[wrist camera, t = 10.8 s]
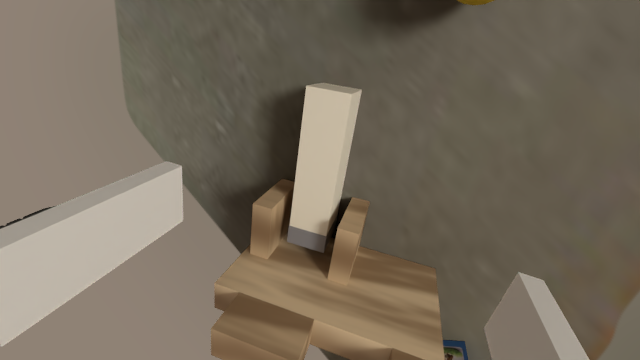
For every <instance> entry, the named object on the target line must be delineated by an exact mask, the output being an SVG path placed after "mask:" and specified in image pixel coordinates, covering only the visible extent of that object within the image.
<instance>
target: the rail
mask: <svg viewBox="0 0 640 360" xmlns="http://www.w3.org/2000/svg"><path fill="white" fill-rule="evenodd" d="M361 91H362V90H361V89H355V88H349V87H344V86H338V85H333V84H327V83H318V84H313V85H307V86H306V92H305V100H304V109H303V117H302V125H301V134H300V142H299V151H298V159H297V167H296V176H295V184H294V193H293V201H292V209H291V218H290V225H289V228H288V237H287V242H289V243H293V244H296V245H299V246H302V247H306V248H309V249H312V250H315V251H318V252H322V253H324V251H325V249H326V247H327V245H328V243H329V241H330V239H331V237H332V234H333V232H334V230H335V228H336V223H337V217H338V210H339V205H340V200H341V195H342V189H343V184H344V179H345V174H346V169H347V163H348V158H349V153H350V148H351V143H352V138H353V132H354V127H355V122H356V117H357V112H358V107H359V101H360V96H361Z"/></svg>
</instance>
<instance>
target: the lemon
mask: <svg viewBox="0 0 640 360" xmlns="http://www.w3.org/2000/svg"><path fill="white" fill-rule="evenodd" d="M457 1H459V2H461V3H463V4H469V5H481V4H486V3H489V2H492V1H494V0H457Z"/></svg>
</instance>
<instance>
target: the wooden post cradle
mask: <svg viewBox="0 0 640 360" xmlns="http://www.w3.org/2000/svg"><path fill="white" fill-rule="evenodd" d="M294 184H295V182H293V181H289V180H286V179H281V180H280V181H279V182H278V183H277V184H275V185H274V186H273V187H272V188H271V189H270V190H268V191H267V192H266V193H265V194H264V195H262V196H261V197H260V198H259V199H258V200H257V201H255V202H254V203H253V211H252V228H251V244H250V245H249V246H248V247H247V248H246V250H245V251H244V252H243V253H242V254H241V255H240V256H239V257H238V258H237V259H236V260H235V262H234V263H233V264H232V265H231V266H230V267H229V268H228V269H227V270H226V271H225V273H223V275H222V276H221V277H220V278H219V279H218V280H217V281H216V282H215V308H218V309H220V310H223V311H224V313H223V314H222V315H221V317H220V318H219V319H218V320H217V322H216V323H215V324H214V326H213V327H212V328H211V355H213V356H215V357H218V358H220V359H222V360H304V358H305V355H306V352H307V349H308V347H309V344H311V345H314V346H316V347H319V348H321V349H324V350H327V351H329V352H332V353H334V354H337V355H340V356H342V357H345V358H347V359H350V360H445V358H444V349H443V339H442V329H441V319H440V310H439V300H438V290H437V281H436V271H435V268H431V267H428V266H425V265H421V264H418V263H415V262H411V261H408V260H404V259H401V258H398V257H394V256H391V255H388V254H384V253H381V252H378V251H374V250H371V249H368V248H364V247H361V246H359V245H360V240H361V236H362V232H363V228H364V224H365V220H366V216H367V211H368V207H369V203H370V202H369V201H365V200H362V199H358V198H354V197H352V199H351V201H350V203H349V205H348V207H347V209H346V211H345V213H344V215H343V218H342V220H341V222H340V224H339V226H338V228H337V233H336V238H335V239H334V238H331V239H330V241H329V243H328V245H327V247H326V249H325V251H324V253H322V252H318V251H315V250H312V249H309V248H306V247H302V246H299V245H296V244H293V243H289V242H287V237H288V228H289V225H290V218H291V209H292V201H293V193H294Z"/></svg>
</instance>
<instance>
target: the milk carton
mask: <svg viewBox="0 0 640 360" xmlns="http://www.w3.org/2000/svg"><path fill="white" fill-rule="evenodd" d="M443 349H444V358H445V360H468V357H467V352H466V346H465V341H451V340H443Z"/></svg>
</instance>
